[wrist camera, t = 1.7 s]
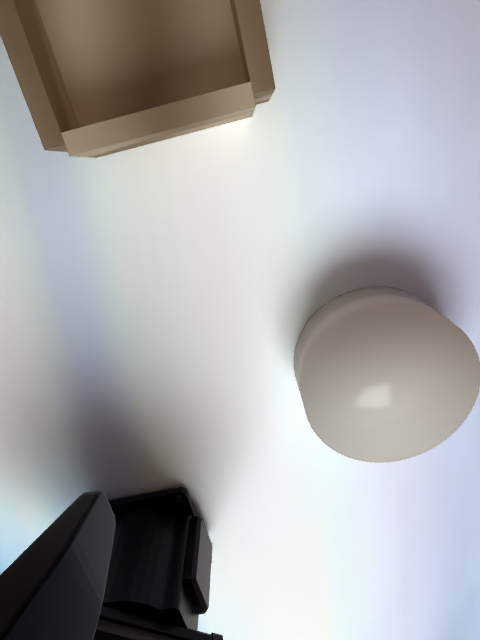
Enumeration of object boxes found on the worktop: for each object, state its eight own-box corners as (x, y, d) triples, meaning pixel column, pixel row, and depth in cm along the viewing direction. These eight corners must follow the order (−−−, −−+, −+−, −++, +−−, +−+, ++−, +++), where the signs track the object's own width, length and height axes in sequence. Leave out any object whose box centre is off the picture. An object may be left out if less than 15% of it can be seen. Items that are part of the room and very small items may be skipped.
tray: (78, 162, 17) (48, 161, 15) (-11, -87, 14) (-70, -148, 12) (270, 111, 17) (277, 100, 14) (220, -160, 14) (216, -242, 11)
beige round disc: (307, 432, 23) (319, 476, 20) (280, 305, 20) (288, 332, 17) (446, 403, 22) (482, 444, 19) (438, 269, 20) (479, 290, 16)
